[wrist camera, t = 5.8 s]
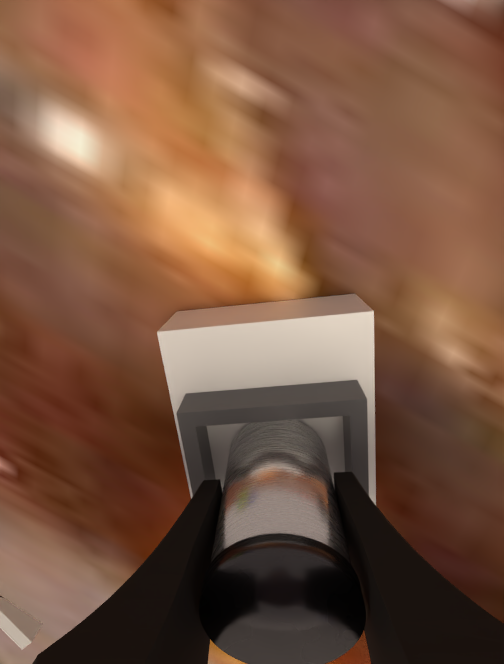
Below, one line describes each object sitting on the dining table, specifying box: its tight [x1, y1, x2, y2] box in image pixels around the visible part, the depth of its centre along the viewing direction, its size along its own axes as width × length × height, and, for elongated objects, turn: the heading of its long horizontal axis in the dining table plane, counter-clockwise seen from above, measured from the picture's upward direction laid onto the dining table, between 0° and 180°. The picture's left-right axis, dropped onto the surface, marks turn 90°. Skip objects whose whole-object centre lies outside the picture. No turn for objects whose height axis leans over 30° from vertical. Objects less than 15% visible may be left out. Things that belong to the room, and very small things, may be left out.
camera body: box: [157, 294, 376, 505], centre depth 16 cm, size 12×8×4 cm, turn 7°
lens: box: [199, 420, 366, 664], centre depth 12 cm, size 4×4×6 cm
